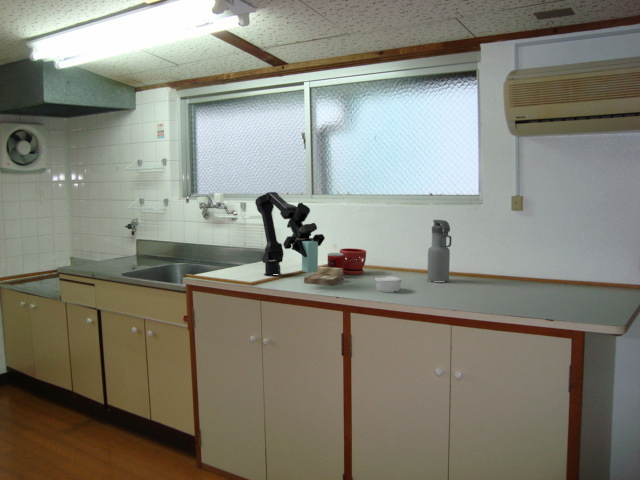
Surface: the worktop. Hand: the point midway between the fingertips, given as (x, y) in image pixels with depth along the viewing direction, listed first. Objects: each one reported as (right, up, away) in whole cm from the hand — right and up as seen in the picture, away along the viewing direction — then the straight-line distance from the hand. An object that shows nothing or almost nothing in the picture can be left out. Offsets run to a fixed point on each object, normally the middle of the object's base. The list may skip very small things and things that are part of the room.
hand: (311, 256), depth 231 cm
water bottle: (+58, -12, +15) cm, 61 cm away
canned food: (+11, -11, +27) cm, 31 cm away
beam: (+8, -9, +18) cm, 21 cm away
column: (-1, -7, +2) cm, 7 cm away
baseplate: (+6, -12, +13) cm, 19 cm away
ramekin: (+32, -14, -6) cm, 36 cm away
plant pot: (+20, -10, +35) cm, 41 cm away
